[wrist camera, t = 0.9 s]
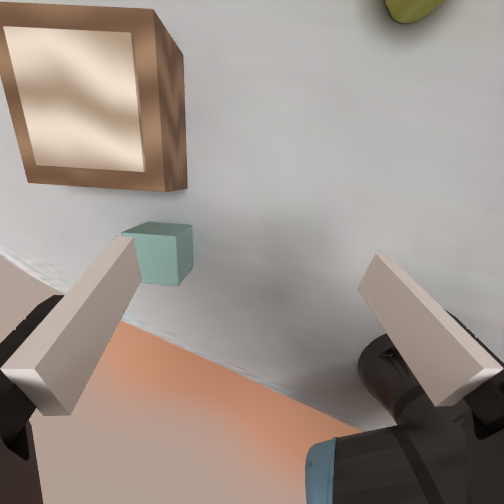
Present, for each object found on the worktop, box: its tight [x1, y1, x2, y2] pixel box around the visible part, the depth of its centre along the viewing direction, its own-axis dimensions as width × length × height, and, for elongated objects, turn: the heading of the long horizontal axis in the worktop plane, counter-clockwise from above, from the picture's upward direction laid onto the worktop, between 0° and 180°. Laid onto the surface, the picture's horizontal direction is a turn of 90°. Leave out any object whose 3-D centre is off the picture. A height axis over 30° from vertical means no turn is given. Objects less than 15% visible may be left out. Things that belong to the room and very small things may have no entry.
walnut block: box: [0, 2, 188, 192], centre depth 26 cm, size 16×16×8 cm
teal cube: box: [121, 222, 193, 286], centre depth 33 cm, size 7×7×7 cm
